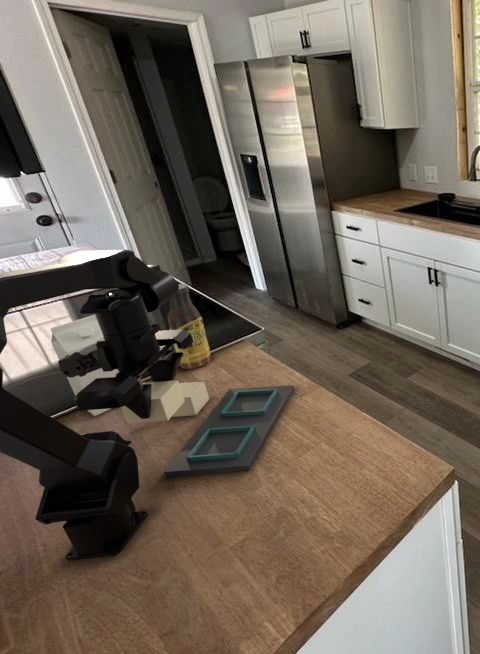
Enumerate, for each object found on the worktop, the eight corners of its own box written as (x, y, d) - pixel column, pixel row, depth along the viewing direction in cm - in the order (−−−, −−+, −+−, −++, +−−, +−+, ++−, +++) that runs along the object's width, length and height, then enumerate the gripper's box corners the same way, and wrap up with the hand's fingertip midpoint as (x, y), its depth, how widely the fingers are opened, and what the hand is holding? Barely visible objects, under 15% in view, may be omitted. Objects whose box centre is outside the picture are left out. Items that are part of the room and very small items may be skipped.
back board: (249, 470, 70) (246, 461, 70) (165, 477, 69) (162, 468, 68) (294, 389, 91) (292, 382, 90) (230, 393, 89) (228, 385, 88)
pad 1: (168, 420, 69) (160, 398, 67) (127, 424, 68) (118, 401, 66) (185, 401, 73) (178, 380, 71) (147, 404, 72) (139, 382, 71)
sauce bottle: (195, 372, 95) (172, 294, 88) (173, 368, 97) (148, 291, 89) (219, 357, 101) (199, 283, 94) (198, 353, 103) (176, 280, 95)
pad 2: (196, 415, 82) (190, 397, 81) (163, 417, 82) (156, 399, 80) (209, 399, 87) (204, 381, 85) (178, 401, 86) (172, 383, 85)
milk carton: (79, 405, 84) (42, 323, 77) (122, 386, 90) (92, 309, 83) (94, 417, 81) (58, 333, 74) (138, 396, 87) (108, 317, 80)
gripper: (112, 303, 72) (139, 378, 77) (8, 364, 54) (53, 454, 60) (183, 300, 73) (204, 373, 79) (104, 358, 56) (139, 446, 62)
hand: (156, 407), depth 70 cm, fingers closed on pad 1, 5 cm apart
